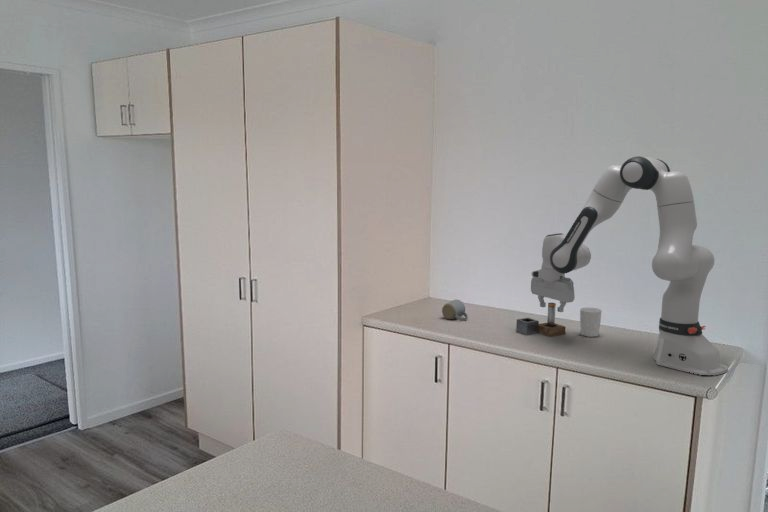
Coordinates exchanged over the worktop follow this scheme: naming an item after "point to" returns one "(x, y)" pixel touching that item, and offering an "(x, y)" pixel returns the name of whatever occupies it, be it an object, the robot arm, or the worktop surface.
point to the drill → (551, 315)
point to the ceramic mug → (454, 310)
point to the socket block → (527, 326)
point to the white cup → (590, 321)
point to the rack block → (551, 330)
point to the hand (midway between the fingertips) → (551, 309)
